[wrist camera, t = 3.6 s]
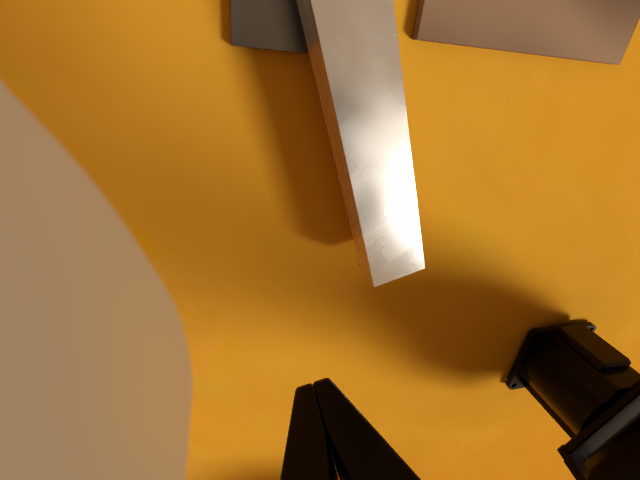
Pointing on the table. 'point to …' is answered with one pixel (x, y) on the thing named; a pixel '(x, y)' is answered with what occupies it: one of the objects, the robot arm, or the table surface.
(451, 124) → the table surface
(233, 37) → the plate
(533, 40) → the door board
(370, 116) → the latch bar
